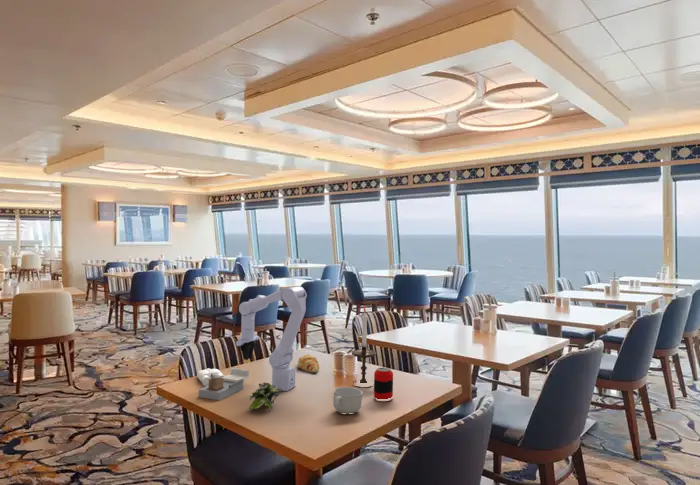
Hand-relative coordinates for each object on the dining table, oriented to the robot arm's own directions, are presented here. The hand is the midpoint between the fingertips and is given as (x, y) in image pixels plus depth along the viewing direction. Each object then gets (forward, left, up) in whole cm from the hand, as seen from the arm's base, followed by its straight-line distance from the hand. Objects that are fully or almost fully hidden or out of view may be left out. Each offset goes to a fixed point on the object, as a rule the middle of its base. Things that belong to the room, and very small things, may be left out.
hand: (247, 358), depth 216 cm
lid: (0, +9, -7) cm, 11 cm away
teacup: (-55, +19, -10) cm, 59 cm away
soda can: (-63, -2, -10) cm, 64 cm away
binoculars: (+15, +6, -10) cm, 19 cm away
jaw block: (0, +23, -10) cm, 25 cm away
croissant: (-15, -31, -10) cm, 36 cm away
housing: (0, +19, -10) cm, 21 cm away
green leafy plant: (-26, +27, -10) cm, 39 cm away
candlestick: (-49, -17, -10) cm, 53 cm away
